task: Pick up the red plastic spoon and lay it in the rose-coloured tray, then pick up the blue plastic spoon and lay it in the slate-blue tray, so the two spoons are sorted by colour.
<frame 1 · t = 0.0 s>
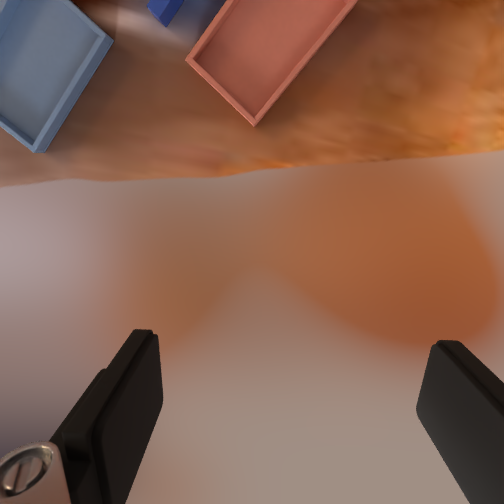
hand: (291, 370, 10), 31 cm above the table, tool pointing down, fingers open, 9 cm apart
blue tray: (40, 68, 35), on the table
rose tray: (268, 36, 34), on the table
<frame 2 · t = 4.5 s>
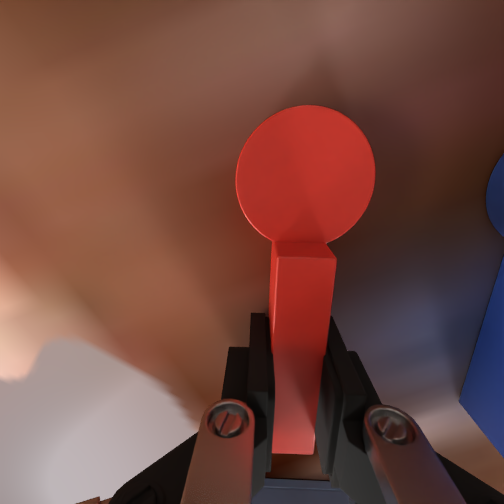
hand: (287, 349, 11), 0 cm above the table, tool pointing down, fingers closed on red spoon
red spoon: (291, 285, 11), on the table, touching gripper
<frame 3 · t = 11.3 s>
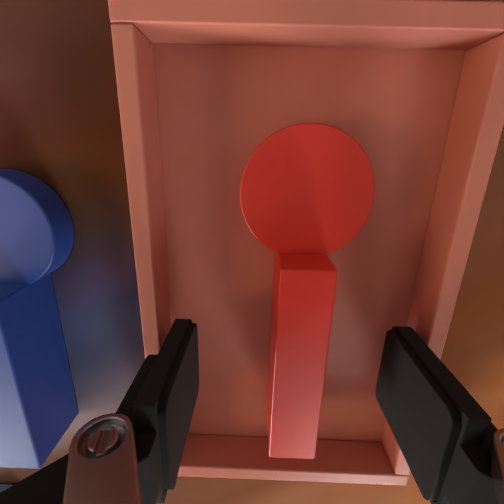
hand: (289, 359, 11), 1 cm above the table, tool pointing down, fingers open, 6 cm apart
blue spoon: (40, 316, 12), on the table
red spoon: (293, 293, 11), resting on rose tray
rose tray: (289, 279, 11), on the table
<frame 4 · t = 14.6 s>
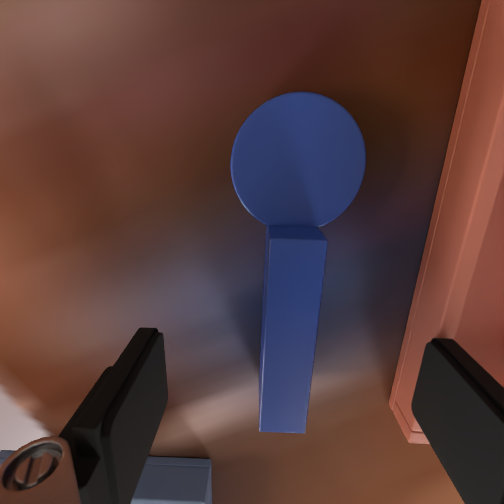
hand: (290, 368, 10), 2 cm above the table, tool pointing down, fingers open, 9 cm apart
blue spoon: (285, 270, 11), on the table
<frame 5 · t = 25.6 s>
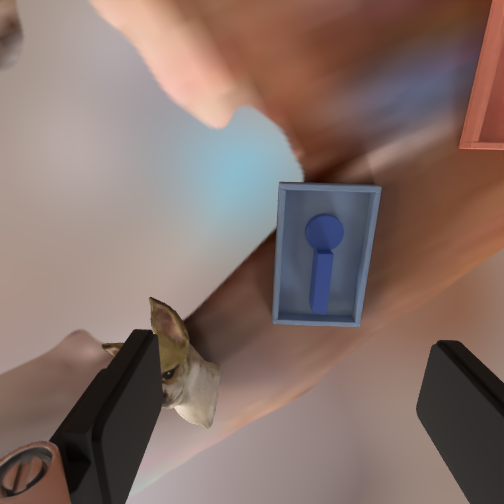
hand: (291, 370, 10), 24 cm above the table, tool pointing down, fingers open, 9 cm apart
ceramic sculpture: (177, 347, 39), on the table
blue spoon: (319, 263, 34), resting on blue tray
blue tray: (319, 255, 35), on the table
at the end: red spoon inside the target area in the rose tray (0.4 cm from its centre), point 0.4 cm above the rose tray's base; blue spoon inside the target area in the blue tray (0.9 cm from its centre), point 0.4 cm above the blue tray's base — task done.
